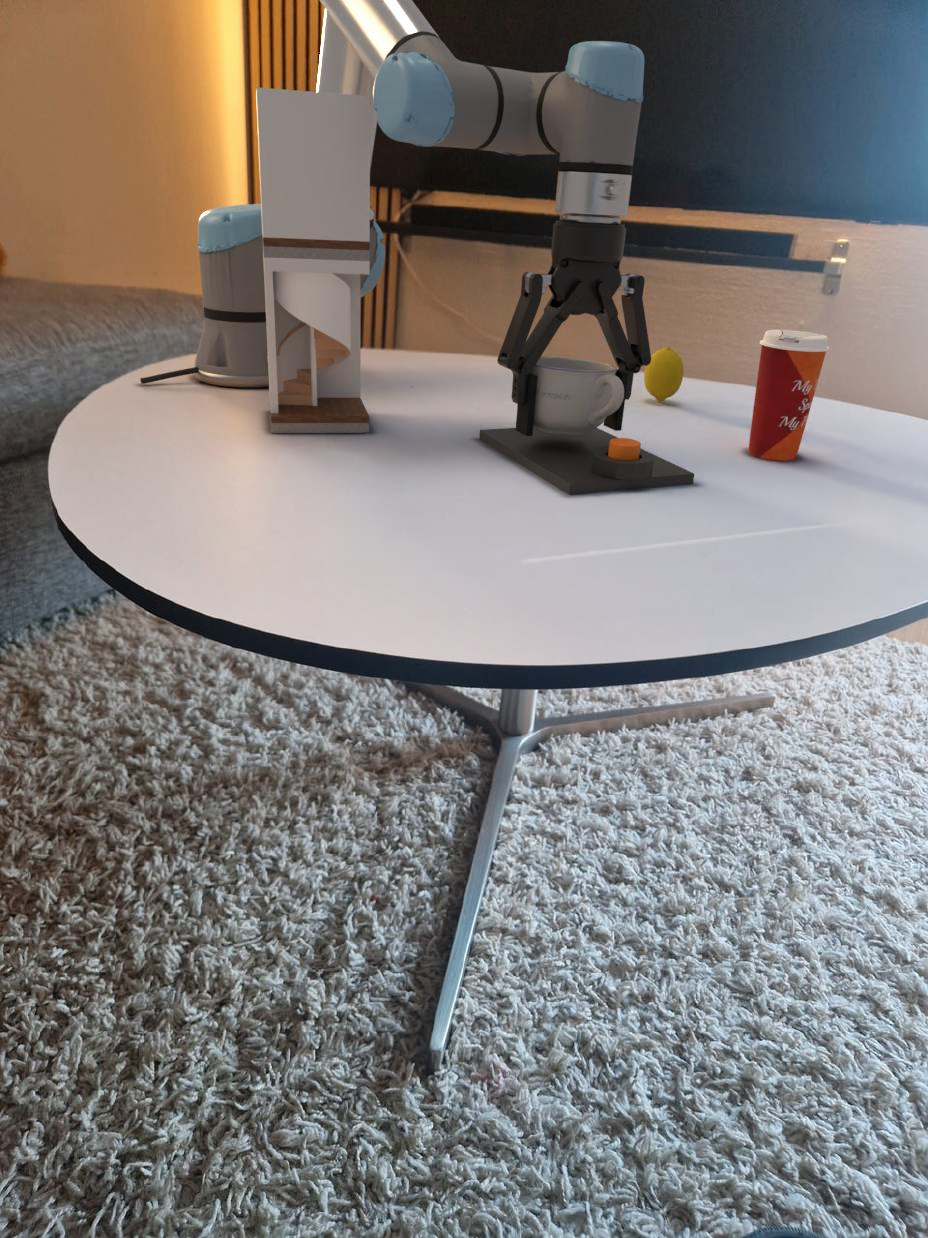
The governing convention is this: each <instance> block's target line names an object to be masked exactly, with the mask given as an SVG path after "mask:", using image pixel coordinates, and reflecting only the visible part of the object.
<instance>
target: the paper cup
mask: <svg viewBox="0 0 928 1238" xmlns="http://www.w3.org/2000/svg"><path fill="white" fill-rule="evenodd" d="M828 344H829V338H828V336H827V335H825V334H821V333H817V332H812V331H802V330H793V329H767V330H766V331H765V332H764V335H763V338H762V339H761V340H760V341H759V345H761V348H760V349H761V350H760V357H759V363H758V370H757V371H758V372H757V379H756V386H755V394H754V403H753V410H752V418H751V425H750V431H749V441H748V453H749V454H750V455H751V456H754V457H756V458H759V459H763V460H769V461H777V462H778V461H780V462H788V461H794V460H795V459H796V458H797V456H798V453H799V449H800V446H801V443H802V439H803V436H804V432H805V429H806V426H807V421H808V419H809V415H810V412H811V408H812V404H813V400H814V397H815V394H816V390H817V387H818V386H817V385H818V383H819V378H820V375H821V372H822V368H823V364H824V361H825V358H826V353H827V352H829V351H830V350H831V349H830V346H829V345H828Z"/></svg>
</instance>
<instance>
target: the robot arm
mask: <svg viewBox="0 0 928 1238" xmlns="http://www.w3.org/2000/svg"><path fill="white" fill-rule="evenodd" d="M318 1H319V2H320V3H321V5H322V6H323V8H324V14H323V24H322V33H321V42H320V43H321V44H320V52H319V53H320V54H319V61H318V62H319V63H318V71H317V79H316V81H317V82H316V89H315V92H324V93H337V94H351V95H364V96H370V171H371V169H372V162H373V156H374V148H375V143H376V136H377V135H376V134H377V128H378V126H379V128H380V130H381V131H382V133H384V134H385V135H386V136H387V137H388V138H390V139H391V140H393V141H396V142H401V143H407V144H411V145H412V146H415V147H422V148H425V147H426V148H427V147H438V148H439V147H440V148H457V149H470V150H477V151H487V152H495V153H497V154H498V153H499V154H503V155H508V156H517V157H523V156H526V155H557V156H558V155H559V158H558V159H559V161H558V173H557V183H556V193H555V204H554V212H555V214H556V215H559V220H555V223H553V227H552V228H553V229H552V239H551V251H550V253H551V265H550V268H549V270H548V272H547V273H536V272H532V271H525V272H523V274H522V276H521V287H520V289H521V290H520V296H519V299H518V302H517V304H516V307H515V310H514V312H513V315H512V317H511V320H510V324H509V326H508V329H507V331H506V335H505V338H504V340H503V342H502V345H501V347H500V351H499V353H498V355H497V359H496V360H497V364H498V365H499V366H501V367H503V368H506V369H508V370H511V372H512V384H511V385H512V387H511V388H512V389H511V400H512V403H515V404H517V406H516V407H517V408H516V419H515V428H516V431H518V432H520V433H522V434H523V435H525V436H533V424H534V412H535V400H536V388H537V377H538V376H536V375H534V374H531V371H532V370H533V368H534V366H535V365H536V363H537V362H538V360H539V359H540V357H541V356H543V354H544V352H545V351H546V349H547V347H548V346H549V344H550V343H551V341H552V340H553V338H554V336H555V335H556V333H557V332H558V330H559V329H560V327H561V325H562V324H563V323H564V322H566V321H567V320H568V319H569V318H570V316H581V315H584V314H587V315H590V316H594V318H595V319H596V320H597V322H598V324H599V327H600V329H601V331H602V334H603V335H604V338H605V341H606V344H607V345H608V348H609V351H610V353H611V355H612V358H613V359H614V362H615V364H616V367H617V368H618V369H617V371H616V373H615V376H617V377H618V378H620V380H621V381H622V383H623V386H624V399H623V402H622V404H621V406H620V407H619V408H618V410H616V411H615V412H614V413H612V414H611V415H609V416H607V417H606V419H605V420H604V422H603V423H602V424H603V425H602V426H604V427H606V428H609V429H610V430H613V431H615V432H619V431H622V428H623V421H624V411H625V403H626V401H628V400H630V398H631V396H632V389H633V384H634V383H633V382H634V381H633V380H634V374H638V373H639V372H640V371H641V369H642V367H643V366H645V367H646V366H647V365H649V364H650V363H651V356H652V354H651V346H650V340H649V334H648V333H649V332H648V327H647V321H646V314H645V313H646V312H645V306H644V300H643V296H644V289H645V283H646V281H645V279H646V278H645V276H643V275H639V274H635V273H629V272H628V273H625V274H621V270H620V265H621V263H622V260H623V257H624V250H625V242H626V234H627V227H625V226H626V225H625V224H622V219H626V217H628V213H629V204H630V197H631V189H632V188H631V187H632V179H633V172H634V160H635V152H636V144H637V138H638V137H637V136H638V131H639V130H638V129H639V123H640V116H641V110H642V103H643V101H644V94H643V93H644V77H645V76H644V75H645V55H644V53H643V51H642V50H641V48H640V47H638V46H636V45H634V44H631V43H626V42H621V41H609V40H608V41H607V40H590V41H588V40H587V41H582V42H578V43H576V44H575V43H574V44H573V45H572V46H571V47H570V48H569V51H568V57H567V62H566V65H565V66H564V69H565V70H564V71H555V72H531V71H530V72H529V71H523V70H516V69H511V68H503V67H496V66H492V65H491V66H490V65H486V64H479V63H473V62H468V61H462V60H460V59H458V58H456V57H455V56H454V54H453V53H452V52H451V50H450V49H449V48H448V47H447V45H446V44H445V43H444V42H443V40H442V39H441V38H440V36H439V35H438V33H437V32H436V31H435V30H434V28H433V27H432V25H431V24H430V23H429V22H428V20H427V19H426V17H425V16H424V15H423V13H422V12H421V10H420V9H419V8H418V6H417V5H416V4H415V2H414V1H413V0H318ZM197 230H198V231H197V246H196V248H197V251H198V258H199V270H200V271H199V272H200V283H201V297H202V307H203V328H202V331H201V336H200V339H199V343H198V348H197V352H196V356H195V360H194V367H188V368H183V369H178V370H173V371H169V372H164V373H158V374H154V375H150V376H145V377H140V384H141V385H145V384H150V383H153V382H154V383H155V382H158V381H162V380H169V379H172V378H178V377H183V376H187V375H192V374H194V377H195V379H196V380H198V381H199V382H203V383H204V384H208V385H213V386H214V385H215V386H220V387H221V386H222V387H231V388H269V372H268V349H267V327H266V305H265V283H264V260H263V238H262V216H261V203H252V204H248V203H247V204H246V203H245V204H235V205H225V206H219V207H214V208H211V209H207V210H206V211H204V212H203V213H201V215H200V216H199V218H198V221H197ZM384 240H385V239H384V234H383V231H382V229H381V227H380V226H379V225H378V223H377V222H376V221H375V211H374V209H373V208H372V206H371V205H370V275H367V274H360V298H362V297H365V296H366V295H367V294H369V293H370V292H372V291H373V289H374V288H376V285H377V284H378V282H379V280H380V278H381V275H382V272H383V270H384V265H385V259H386V247H385V245H384V244H383V242H384ZM547 288H549V290H550V292H551V295H552V296H551V297H549V300H548V302H547V303H546V305H545V306H544V308H543V314H542V315H541V317H540V318H539V320H538V322H537V324H536V325H535V327H534V328H533V330H532V329H531V328H532V326H533V323H534V321H535V318H536V316H537V313H538V310H539V308H540V304H541V301H542V297H543V296H544V294H545V293H546V292H547ZM617 291H619V293H620V295H621V296H620V297H621V298H620V299H621V306H622V312H623V319H624V325H625V331H626V334H625V331H624V329H623V326H622V324H621V321H620V319H619V317H618V316H619V311H618V309H617V305H616V303H615V301H614V299H613V298H614V295H615V294H616V293H617ZM531 330H532V331H531ZM530 331H531V332H530ZM611 397H612V396H611Z"/></svg>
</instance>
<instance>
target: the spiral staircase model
mask: <svg viewBox="0 0 928 1238" xmlns="http://www.w3.org/2000/svg"><path fill="white" fill-rule="evenodd" d="M255 101H256V125H257V147H258V167H259V168H258V169H259V171H258V172H259V184H260V185H259V189H260V191H259V193H260V204H261V216H262V238H263V260H264V283H265V305H266V327H267V349H268V372H269V387H268V391H269V393H268V394H269V412H270V428H271V434H352V433H353V434H365V433H370V414H369V413H368V410H367V409H366V406H365V404H364V402H363V400H362V398H361V297H360V274H367V275H370V206H371V170H370V96H364V95H351V94H337V93H324V92H316V91H310V90H297V89H282V88H271V87H269V88H268V87H256V89H255Z"/></svg>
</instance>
